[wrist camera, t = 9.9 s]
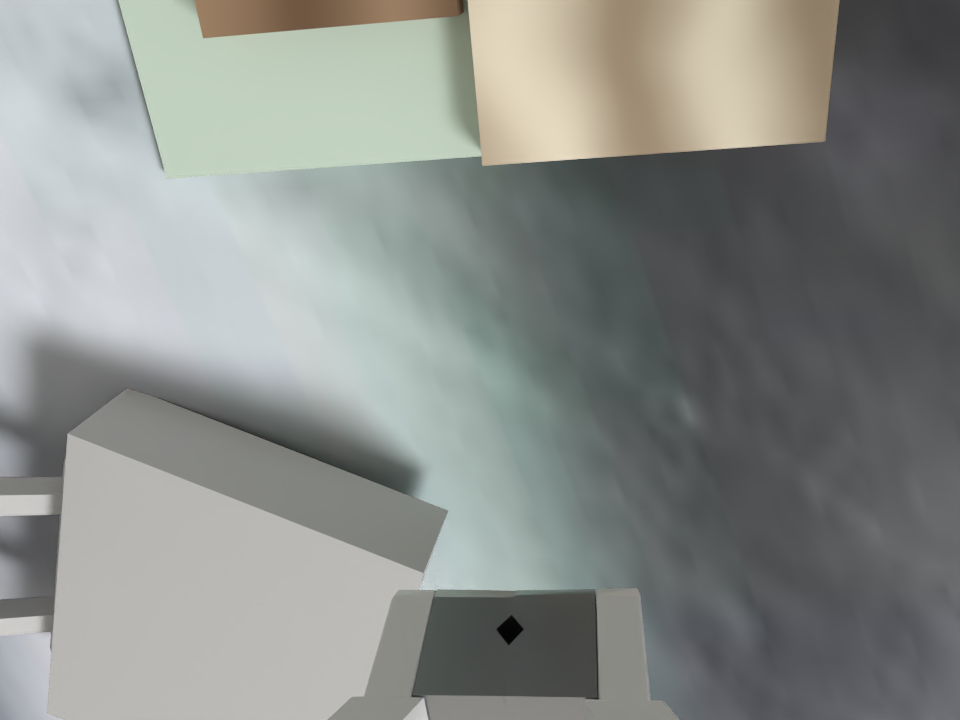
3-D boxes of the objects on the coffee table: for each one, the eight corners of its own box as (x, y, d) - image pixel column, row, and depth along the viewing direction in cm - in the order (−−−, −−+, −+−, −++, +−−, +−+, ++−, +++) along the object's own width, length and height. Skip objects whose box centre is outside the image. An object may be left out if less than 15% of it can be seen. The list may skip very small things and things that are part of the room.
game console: (354, 762, 46) (255, 1016, 35) (-146, 560, 47) (-400, 742, 36) (450, 505, 37) (358, 737, 25) (-173, 263, 38) (-525, 382, 27)
